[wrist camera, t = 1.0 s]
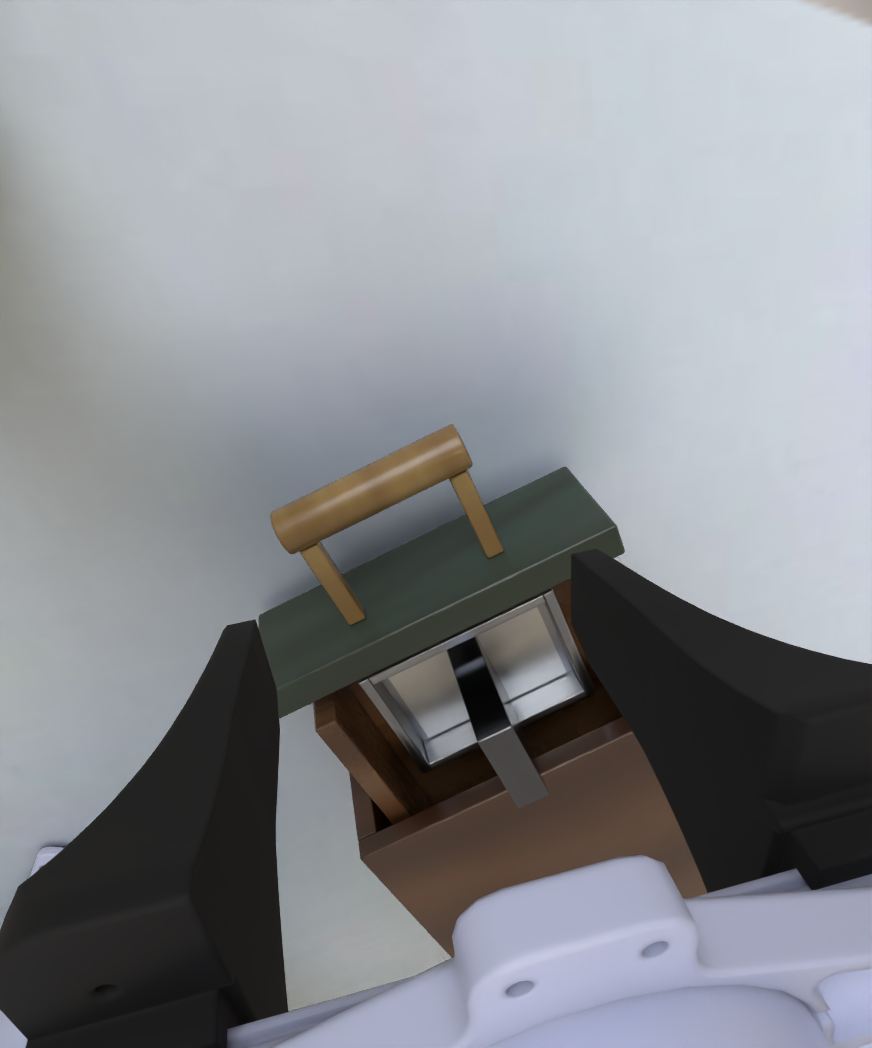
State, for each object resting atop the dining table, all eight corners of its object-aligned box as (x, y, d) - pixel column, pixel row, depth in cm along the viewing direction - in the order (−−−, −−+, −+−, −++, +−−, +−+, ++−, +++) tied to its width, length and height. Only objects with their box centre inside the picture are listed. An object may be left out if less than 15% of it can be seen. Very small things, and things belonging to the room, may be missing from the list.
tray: (353, 653, 25) (372, 770, 21) (538, 564, 25) (598, 663, 21) (416, 743, 28) (444, 861, 24) (581, 664, 28) (641, 770, 24)
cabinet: (343, 733, 30) (359, 859, 25) (624, 600, 30) (698, 700, 24) (477, 902, 39) (508, 1020, 34) (693, 802, 39) (759, 906, 33)
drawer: (182, 517, 22) (166, 594, 19) (523, 348, 22) (574, 393, 18) (425, 829, 33) (444, 915, 30) (657, 720, 33) (705, 795, 29)
